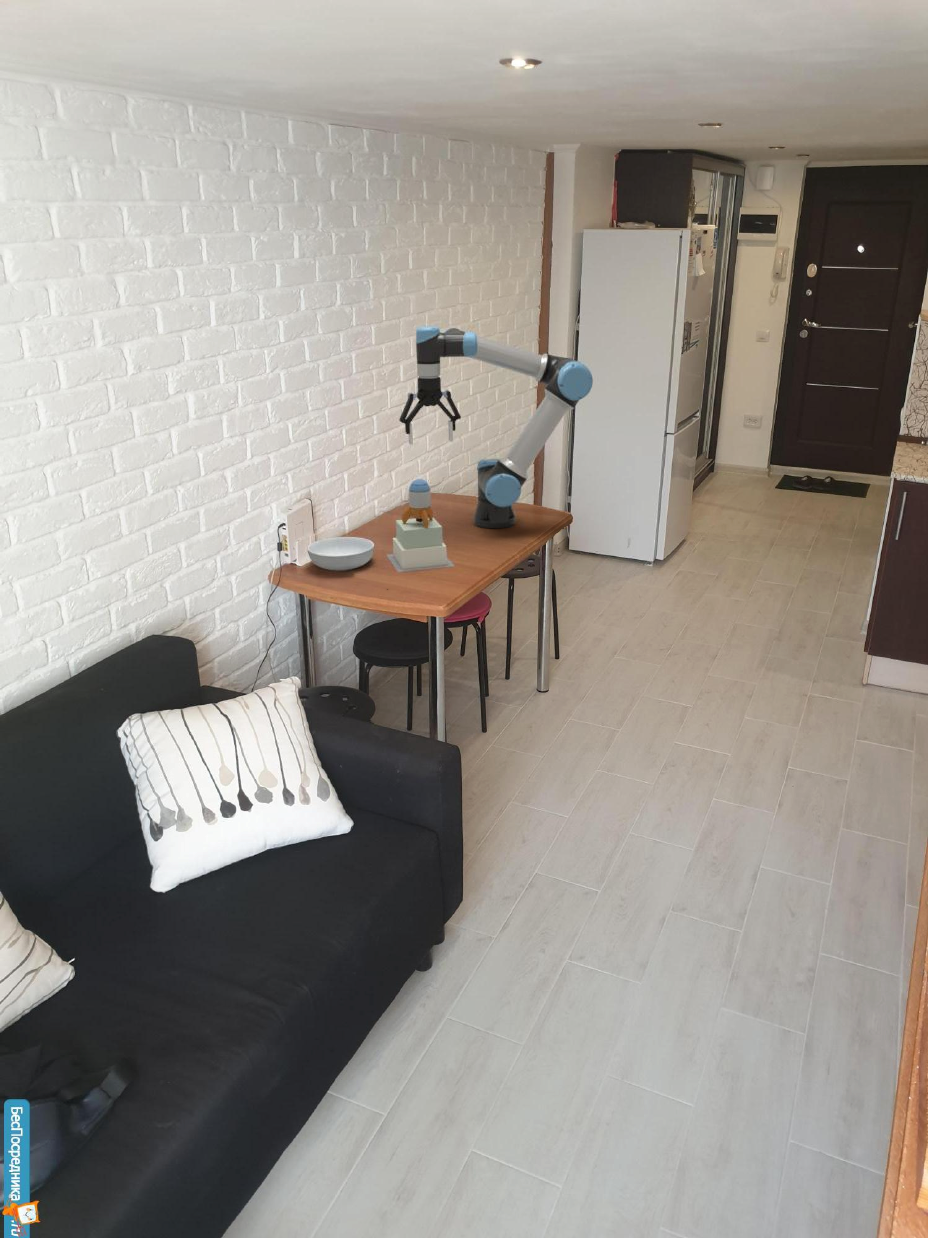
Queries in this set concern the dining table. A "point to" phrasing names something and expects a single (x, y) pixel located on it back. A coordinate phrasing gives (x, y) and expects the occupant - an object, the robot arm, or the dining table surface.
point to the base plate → (399, 568)
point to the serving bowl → (341, 553)
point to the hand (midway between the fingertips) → (430, 442)
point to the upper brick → (419, 534)
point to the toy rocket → (419, 502)
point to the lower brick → (419, 556)
